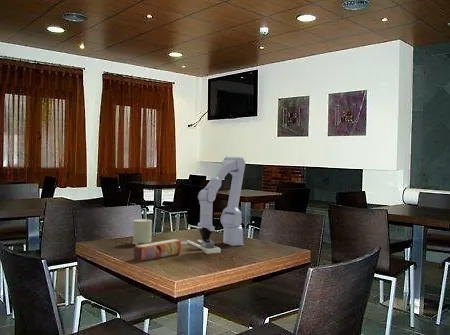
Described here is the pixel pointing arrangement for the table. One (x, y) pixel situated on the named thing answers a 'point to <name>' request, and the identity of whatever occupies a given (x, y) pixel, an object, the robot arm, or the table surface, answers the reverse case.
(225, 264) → the table surface
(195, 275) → the table surface
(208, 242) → the block
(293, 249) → the table surface
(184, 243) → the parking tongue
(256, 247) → the table surface
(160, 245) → the snack package
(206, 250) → the rail
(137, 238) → the can
